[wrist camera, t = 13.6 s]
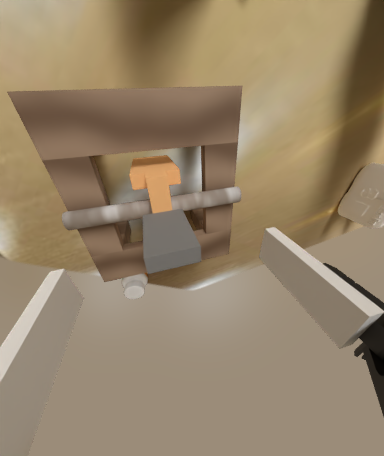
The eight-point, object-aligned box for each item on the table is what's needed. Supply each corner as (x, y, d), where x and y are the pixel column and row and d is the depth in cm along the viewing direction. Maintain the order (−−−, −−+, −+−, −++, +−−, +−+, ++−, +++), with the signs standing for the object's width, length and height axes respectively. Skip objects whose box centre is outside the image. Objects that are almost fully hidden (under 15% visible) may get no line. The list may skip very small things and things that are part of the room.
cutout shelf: (71, 109, 24) (-14, 86, 11) (200, 103, 28) (253, 80, 15) (116, 232, 36) (101, 293, 23) (203, 217, 40) (234, 261, 26)
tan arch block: (133, 158, 24) (120, 213, 9) (166, 155, 25) (207, 199, 10) (145, 210, 29) (150, 304, 14) (173, 205, 30) (207, 289, 14)
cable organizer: (354, 213, 54) (400, 231, 44) (331, 212, 50) (375, 231, 41) (387, 164, 46) (451, 174, 37) (362, 160, 43) (425, 169, 34)
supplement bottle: (127, 250, 39) (123, 282, 31) (149, 254, 41) (151, 284, 33) (122, 267, 41) (117, 301, 33) (143, 270, 43) (144, 302, 35)
